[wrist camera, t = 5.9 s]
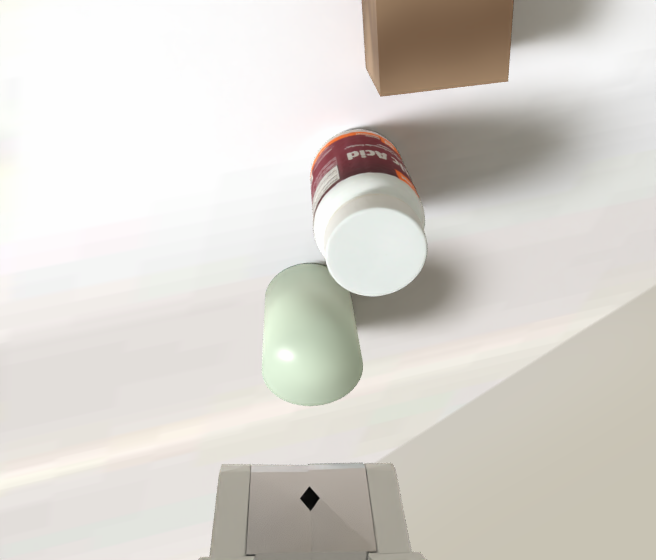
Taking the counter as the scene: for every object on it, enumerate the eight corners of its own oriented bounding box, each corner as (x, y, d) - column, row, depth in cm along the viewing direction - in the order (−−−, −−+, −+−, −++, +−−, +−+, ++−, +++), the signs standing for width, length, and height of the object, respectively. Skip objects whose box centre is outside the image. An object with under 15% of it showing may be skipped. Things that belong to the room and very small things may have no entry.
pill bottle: (419, 150, 28) (462, 227, 21) (374, 227, 31) (399, 320, 24) (334, 110, 27) (351, 178, 20) (293, 193, 29) (295, 281, 22)
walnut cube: (357, -57, 24) (373, -51, 19) (477, -72, 24) (518, -69, 19) (365, 67, 26) (380, 96, 22) (472, 54, 26) (508, 81, 22)
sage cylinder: (265, 262, 31) (261, 329, 26) (354, 264, 32) (367, 330, 27) (264, 333, 34) (261, 406, 29) (347, 333, 35) (358, 405, 30)
